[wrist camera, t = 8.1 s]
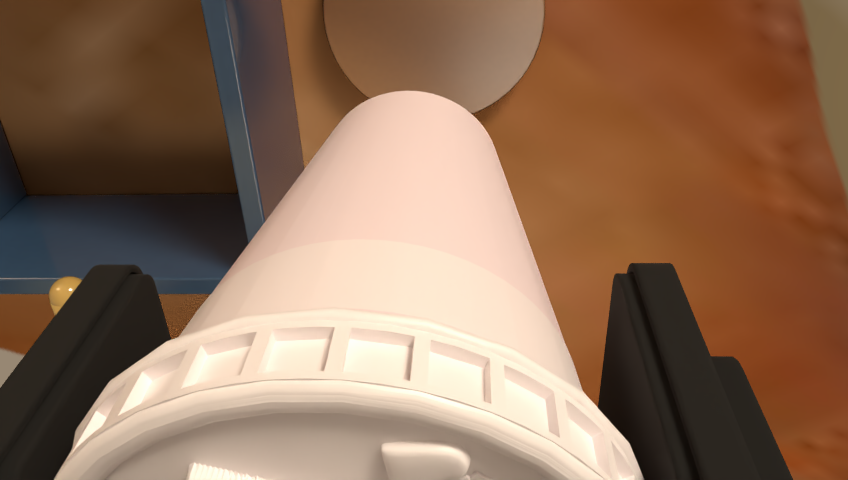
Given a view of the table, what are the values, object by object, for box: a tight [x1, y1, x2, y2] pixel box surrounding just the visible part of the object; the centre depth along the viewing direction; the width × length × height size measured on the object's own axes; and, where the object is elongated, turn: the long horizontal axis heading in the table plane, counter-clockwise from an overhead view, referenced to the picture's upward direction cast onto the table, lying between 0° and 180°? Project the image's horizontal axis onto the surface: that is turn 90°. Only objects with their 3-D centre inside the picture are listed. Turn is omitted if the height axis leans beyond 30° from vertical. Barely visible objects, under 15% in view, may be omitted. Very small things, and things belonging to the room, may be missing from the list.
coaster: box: [323, 0, 545, 114], centre depth 26 cm, size 8×8×1 cm
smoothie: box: [54, 91, 644, 480], centre depth 10 cm, size 6×6×14 cm
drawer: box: [0, 0, 304, 315], centre depth 24 cm, size 16×12×8 cm
